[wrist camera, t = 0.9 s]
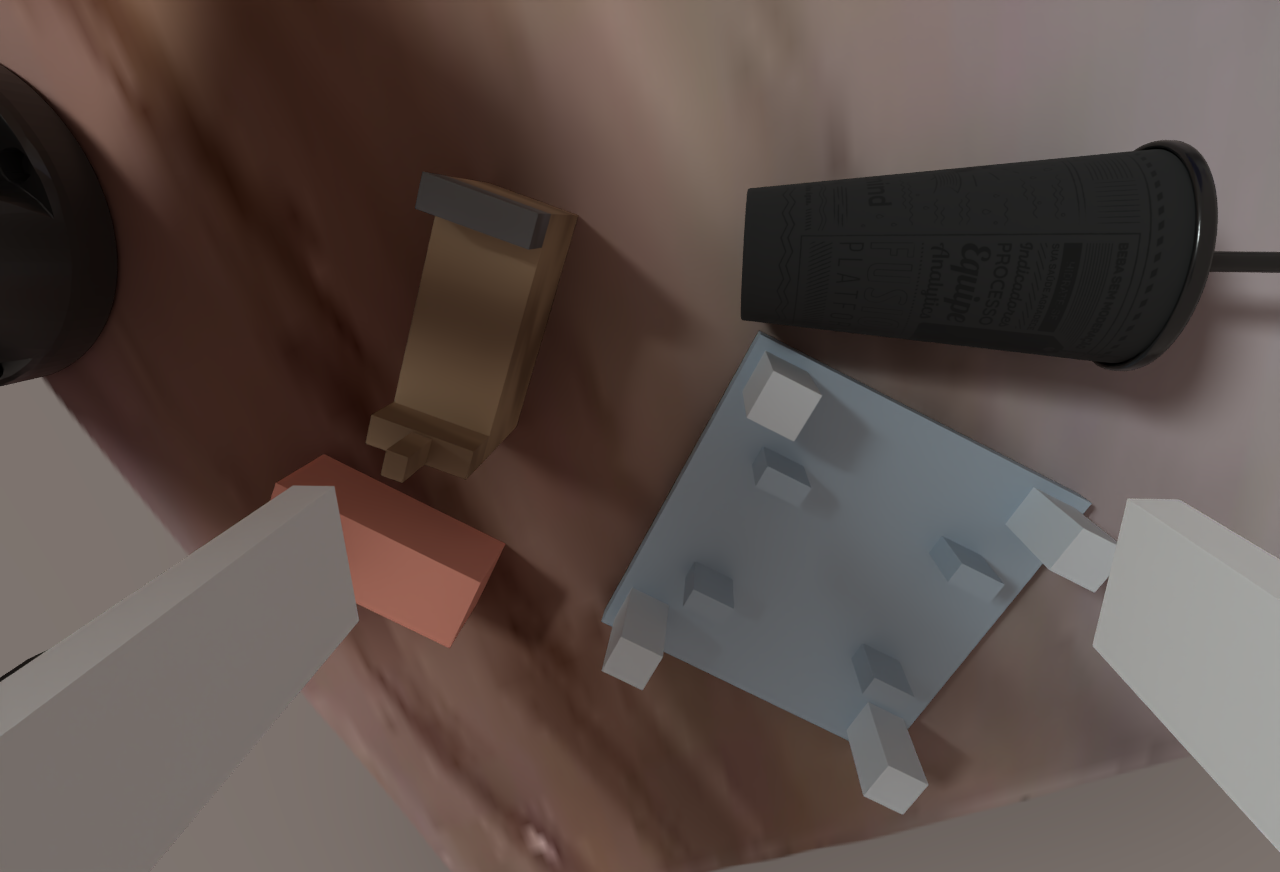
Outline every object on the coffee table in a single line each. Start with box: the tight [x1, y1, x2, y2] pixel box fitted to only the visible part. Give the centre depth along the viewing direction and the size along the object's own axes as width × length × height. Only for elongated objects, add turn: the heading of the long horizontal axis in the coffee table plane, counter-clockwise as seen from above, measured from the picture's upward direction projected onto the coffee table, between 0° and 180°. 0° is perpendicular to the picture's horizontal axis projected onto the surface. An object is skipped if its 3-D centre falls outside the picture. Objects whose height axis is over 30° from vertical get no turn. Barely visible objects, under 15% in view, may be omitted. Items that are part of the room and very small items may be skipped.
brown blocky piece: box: [366, 172, 578, 483], centre depth 25 cm, size 10×4×9 cm, turn 161°
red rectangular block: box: [270, 454, 505, 648], centre depth 32 cm, size 10×4×4 cm, turn 64°
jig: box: [601, 331, 1117, 815], centre depth 29 cm, size 16×16×5 cm
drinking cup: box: [741, 140, 1280, 371], centre depth 23 cm, size 8×8×20 cm
